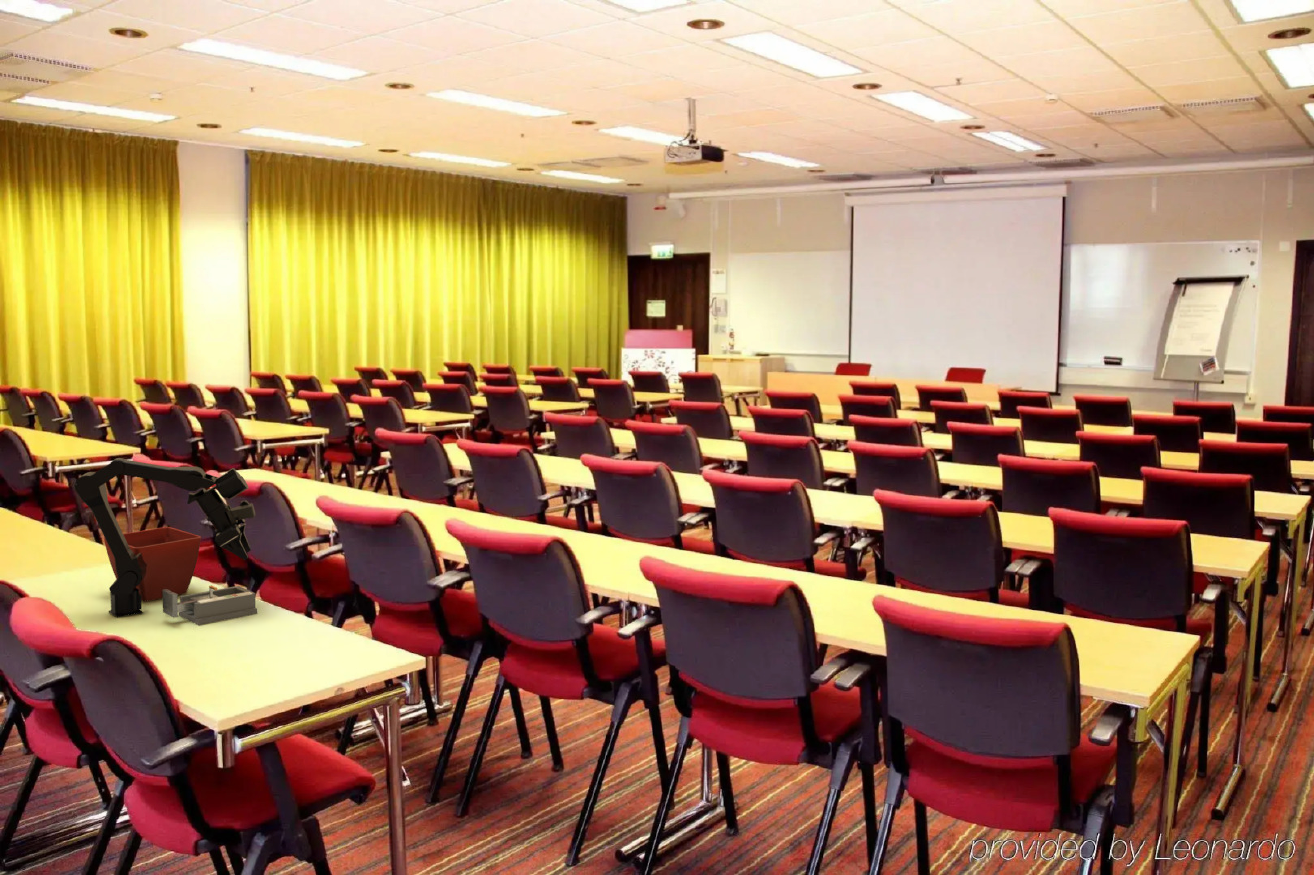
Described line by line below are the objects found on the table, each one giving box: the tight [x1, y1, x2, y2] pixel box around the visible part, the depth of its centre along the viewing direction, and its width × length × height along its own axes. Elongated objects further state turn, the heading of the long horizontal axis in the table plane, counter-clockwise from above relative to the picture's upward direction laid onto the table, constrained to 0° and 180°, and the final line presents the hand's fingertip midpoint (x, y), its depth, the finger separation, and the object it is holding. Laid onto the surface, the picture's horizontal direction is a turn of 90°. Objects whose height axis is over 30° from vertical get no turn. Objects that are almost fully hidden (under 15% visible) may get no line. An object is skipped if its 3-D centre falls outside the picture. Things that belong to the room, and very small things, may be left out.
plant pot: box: [103, 526, 202, 602], centre depth 297 cm, size 19×19×17 cm
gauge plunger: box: [161, 585, 218, 619], centre depth 274 cm, size 13×9×7 cm
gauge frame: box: [178, 585, 258, 626], centre depth 280 cm, size 16×12×6 cm
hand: (248, 555), depth 286 cm, fingers open, 9 cm apart
